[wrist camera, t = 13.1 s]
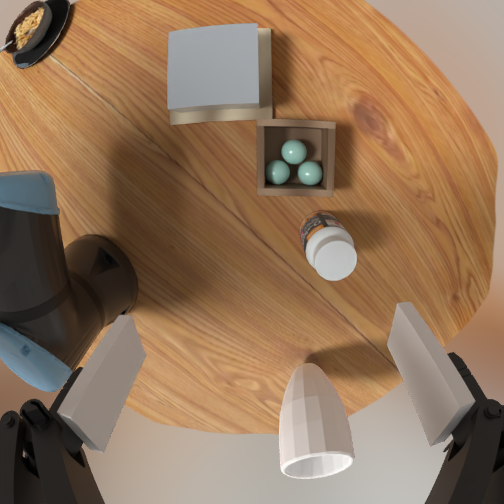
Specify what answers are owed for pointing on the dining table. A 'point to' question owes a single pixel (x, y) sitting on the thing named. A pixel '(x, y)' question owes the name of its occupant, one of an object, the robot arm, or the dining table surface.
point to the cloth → (240, 114)
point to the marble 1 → (277, 172)
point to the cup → (313, 426)
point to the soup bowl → (36, 31)
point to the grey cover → (213, 68)
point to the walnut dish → (318, 150)
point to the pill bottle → (328, 246)
